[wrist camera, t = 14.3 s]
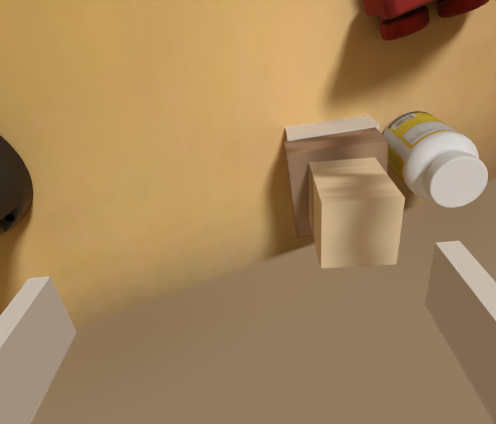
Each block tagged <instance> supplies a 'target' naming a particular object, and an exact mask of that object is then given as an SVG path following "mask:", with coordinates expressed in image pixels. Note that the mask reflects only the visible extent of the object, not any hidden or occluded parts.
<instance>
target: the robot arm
mask: <svg viewBox="0 0 496 424" xmlns="http://www.w3.org/2000/svg"><path fill="white" fill-rule="evenodd" d="M31 200H32V184H31V180H30V176H29V173H28V171H27V169H26V167H25V165H24V163H23V161H22V159H21V158H20V156H19V155H18V154H17V152H16V151H15V150H14V149H13V148H12V146H11V145H10V144H9V143H8V142H7V141H6V140H5V139H4V138H2V137H1V136H0V235H2V234H4V233H6V232H7V231H9V230H10V229H11V228H13V227H14V226H15V225H16V224H17V223H18V222H19V221H20V220H21V219H22V218H23V217H24V216H25V215H26V213H27V211H28V210H29V207H30V205H31ZM425 306H426V308H427V309H428V311H429V313H430V314H431V316H432V318H433V320H434V321H435V323H436V325H437V327H438V328H439V330H440V332H441V333H442V335H443V337H444V339H445V340H446V342H447V344H448V345H449V347H450V349H451V351H452V352H453V354H454V356H455V357H456V359H457V361H458V363H459V364H460V366H461V368H462V369H463V371H464V373H465V375H466V376H467V378H468V380H469V381H470V383H471V385H472V387H473V388H474V390H475V392H476V393H477V395H478V397H479V399H480V400H481V402H482V404H483V405H484V407H485V409H486V411H487V412H488V414H489V416H490V418H491V419H492V421H493V423H494V424H496V282H495V281H494V280H493V279H492V278H491V277H490V276H489V274H488V273H487V272H486V271H485V270H484V269H483V267H482V266H481V265H480V264H479V263H478V262H477V261H476V259H475V258H473V256H472V255H471V254H470V253H469V251H467V249H466V248H465V247H464V246H463V245H462V243H461V242H460V241H451V242H440V243H435V249H434V255H433V260H432V267H431V272H430V278H429V284H428V289H427V295H426V301H425ZM75 334H76V330H75V328H74V326H73V324H72V321H71V319H70V317H69V315H68V313H67V311H66V309H65V306H64V304H63V302H62V300H61V298H60V296H59V294H58V291H57V289H56V287H55V285H54V283H53V281H52V278H51V276H48V277H37V278H29V279H28V280H27V282H26V283H25V284H24V285H23V287H22V288H21V289H20V291H19V292H18V293H17V295H16V296H15V297H14V298H13V300H12V301H11V302H10V304H9V305H8V306H7V308H6V309H5V310H4V311H3V313H2V314H1V315H0V424H30V423H31V422H32V420H33V418H34V416H35V414H36V412H37V410H38V408H39V406H40V404H41V402H42V400H43V398H44V396H45V394H46V392H47V390H48V388H49V386H50V384H51V382H52V380H53V378H54V376H55V374H56V372H57V370H58V368H59V366H60V364H61V362H62V360H63V358H64V356H65V354H66V352H67V350H68V348H69V346H70V344H71V342H72V340H73V338H74V336H75Z"/></svg>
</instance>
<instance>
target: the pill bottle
mask: <svg viewBox="0 0 496 424" xmlns="http://www.w3.org/2000/svg"><path fill="white" fill-rule="evenodd" d="M383 136H384V137H385V138H386V139H387V140H388V154H387V162H388V164H389V165H390V166H391V167H392V168H393V170H394V171H395V172H396V173H397V175H398V176H399V177H400V178H401V179H402V181H403V182H404V183H405V184H406V185H407V187H408V188H409V189H410V190H411V191H412V192H413V193H414V194H416V195H418V196H419V197H422V198H425V199H431V200H434V201H435V202H436V203H438V204H439V205H441V206H444V207H450V208H451V207H460V206H463V205H466V204H468V203H470V202H471V201H473V200H474V199H476V198H477V197H478V196H479V195H480V194H481V193H482V191H483V190H484V188H485V186H486V184H487V180H488V172H487V169H486V167H485V165H484V164H483V162H481V161H480V160H479V155H478V151H477V149H476V147H475V145H474V144H473V142H472V141H471V140H470V139H468V138H467V137H466V136H464V135H463V134H461V133H459V132H458V131H456V130H455V129H453V128H452V127H450V126H449V125H447V124H445V123H444V122H442V121H441V120H439V119H437V118H436V117H434V116H433V115H431V114H429V113H426V112H421V111H413V112H408V113H405V114H403V115H401V116H399V117H397V118H396V119H394V120H393V121H392V122H391V123H390V124H389V125H388V126H387V128H386V129H385V131H384V133H383Z"/></svg>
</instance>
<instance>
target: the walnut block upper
mask: <svg viewBox="0 0 496 424" xmlns="http://www.w3.org/2000/svg"><path fill="white" fill-rule="evenodd" d="M284 145H285V153H286V161H287V168H288V176H289V183H290V191H291V198H292V206H293V213H294V220H295V226H296V232H297V238H298V237H306V236H313V233H312V228H311V224H310V220H309V162H320V161H333V160H347V159H361V158H374V157H375V158H376V160H377V161H378V162H379V164H380V165H381V166H382V168H383V169H384V170H385V172H386V173H387V154H388V140H387V139H386V138H385V137H384V136H383V135H382V134H381V133H380V132H379V131H378V130H377V128H376V127H373V128H367V129H360V130H354V131H348V132H342V133H335V134H329V135H323V136H317V137H310V138H304V139H298V140H292V141H285V142H284Z"/></svg>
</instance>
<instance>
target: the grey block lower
mask: <svg viewBox="0 0 496 424" xmlns="http://www.w3.org/2000/svg"><path fill="white" fill-rule="evenodd" d="M373 127H376V128H377V130H378V131H379V125H378V124H377V122H376V121H375V120H374V119H373V118H372V117H371V116H370V115H367V116H360V117H353V118H346V119H339V120H332V121H324V122H317V123H310V124H303V125H296V126H289V127H285V131H286V140H287V141H292V140H298V139H304V138H310V137H317V136H323V135H329V134H335V133H342V132H348V131H354V130H360V129H367V128H373Z"/></svg>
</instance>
